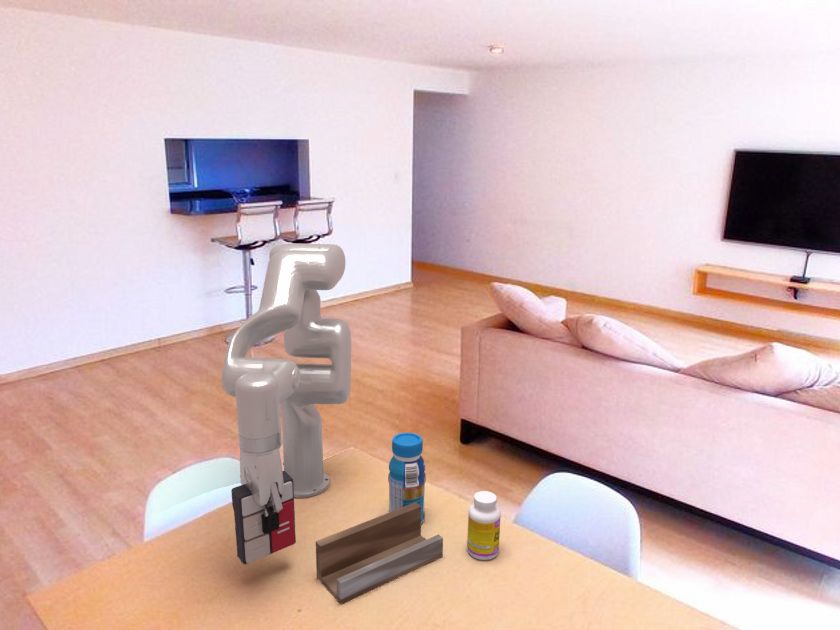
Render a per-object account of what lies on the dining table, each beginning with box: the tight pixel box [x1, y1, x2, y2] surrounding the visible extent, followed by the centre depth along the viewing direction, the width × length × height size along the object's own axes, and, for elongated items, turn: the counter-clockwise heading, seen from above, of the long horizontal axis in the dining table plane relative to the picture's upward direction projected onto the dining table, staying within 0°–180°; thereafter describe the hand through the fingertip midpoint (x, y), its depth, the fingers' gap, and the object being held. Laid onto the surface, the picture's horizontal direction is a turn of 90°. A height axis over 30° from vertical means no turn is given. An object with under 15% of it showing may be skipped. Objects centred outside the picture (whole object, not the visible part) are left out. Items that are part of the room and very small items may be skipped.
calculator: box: [230, 470, 297, 565], centre depth 121 cm, size 11×4×15 cm, turn 128°
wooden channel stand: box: [315, 502, 444, 605], centre depth 126 cm, size 10×24×8 cm, turn 127°
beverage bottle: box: [387, 432, 427, 524], centre depth 141 cm, size 8×8×20 cm
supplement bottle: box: [466, 490, 502, 561], centre depth 131 cm, size 7×7×13 cm
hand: (266, 524), depth 121 cm, fingers closed on calculator, 3 cm apart
